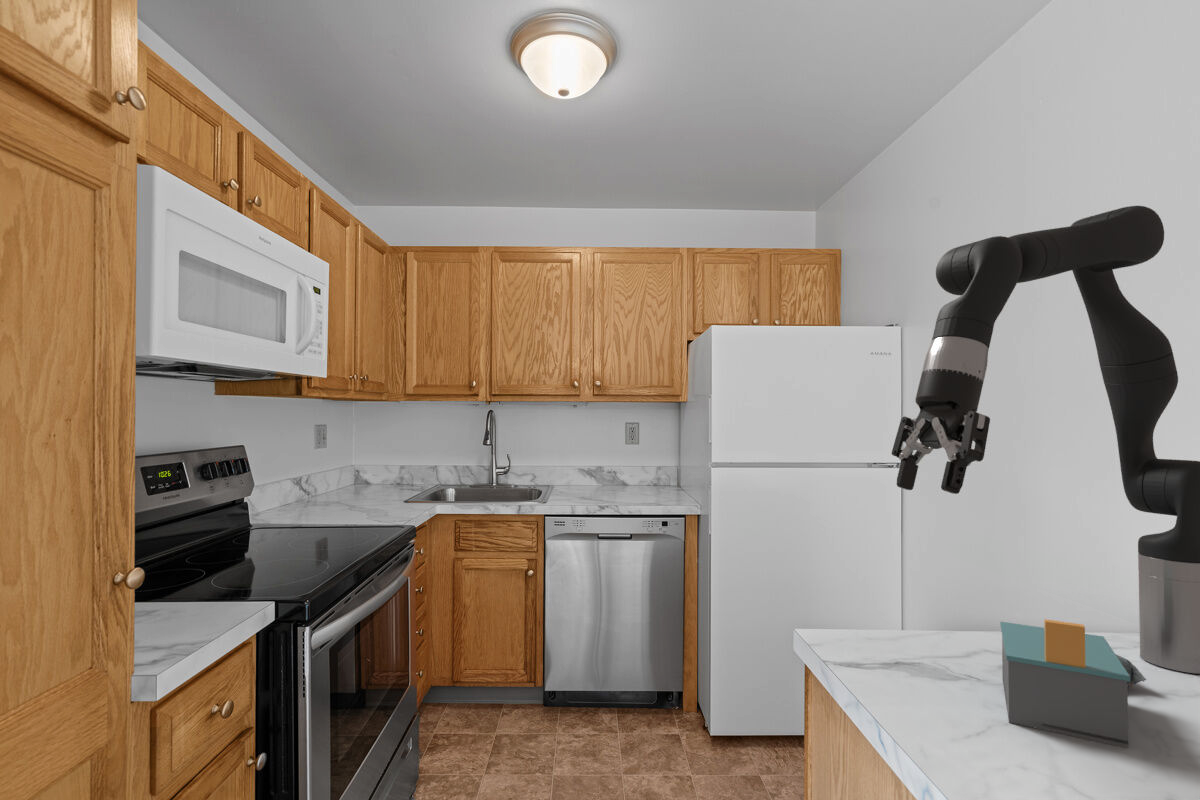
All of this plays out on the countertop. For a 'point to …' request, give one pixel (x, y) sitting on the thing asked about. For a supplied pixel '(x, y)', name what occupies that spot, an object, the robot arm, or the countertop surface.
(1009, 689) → the tub
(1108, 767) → the countertop surface
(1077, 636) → the lid
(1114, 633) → the countertop surface
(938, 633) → the countertop surface
